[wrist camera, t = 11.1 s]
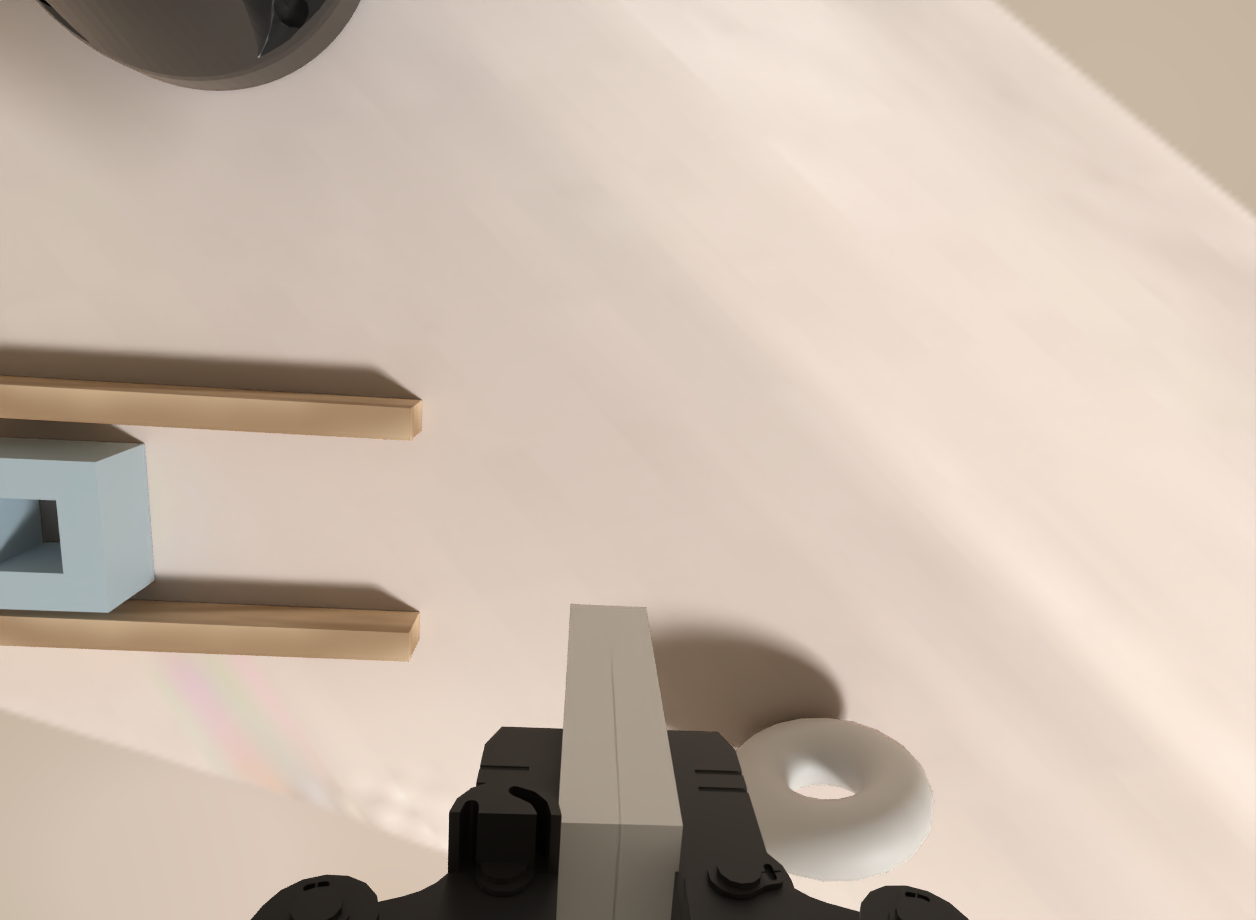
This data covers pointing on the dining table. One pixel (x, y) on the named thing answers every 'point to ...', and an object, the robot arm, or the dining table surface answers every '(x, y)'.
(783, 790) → the donut
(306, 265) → the dining table surface
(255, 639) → the track
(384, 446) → the dining table surface
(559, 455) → the dining table surface
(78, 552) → the block
